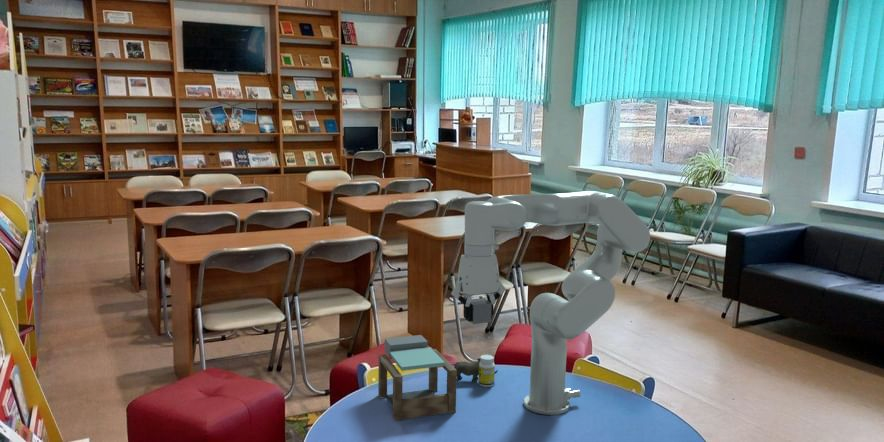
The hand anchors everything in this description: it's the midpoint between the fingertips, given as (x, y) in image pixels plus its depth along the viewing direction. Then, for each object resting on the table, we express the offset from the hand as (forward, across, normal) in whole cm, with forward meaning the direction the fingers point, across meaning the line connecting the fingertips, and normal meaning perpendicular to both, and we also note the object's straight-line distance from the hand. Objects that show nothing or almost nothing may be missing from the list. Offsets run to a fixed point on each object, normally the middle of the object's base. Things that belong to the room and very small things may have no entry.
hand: (478, 318), depth 177 cm
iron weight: (+1, 0, 0) cm, 1 cm away
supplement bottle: (+28, -11, -20) cm, 36 cm away
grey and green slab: (+16, +13, -17) cm, 26 cm away
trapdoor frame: (+27, +13, -13) cm, 33 cm away
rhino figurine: (+28, -9, -23) cm, 37 cm away
